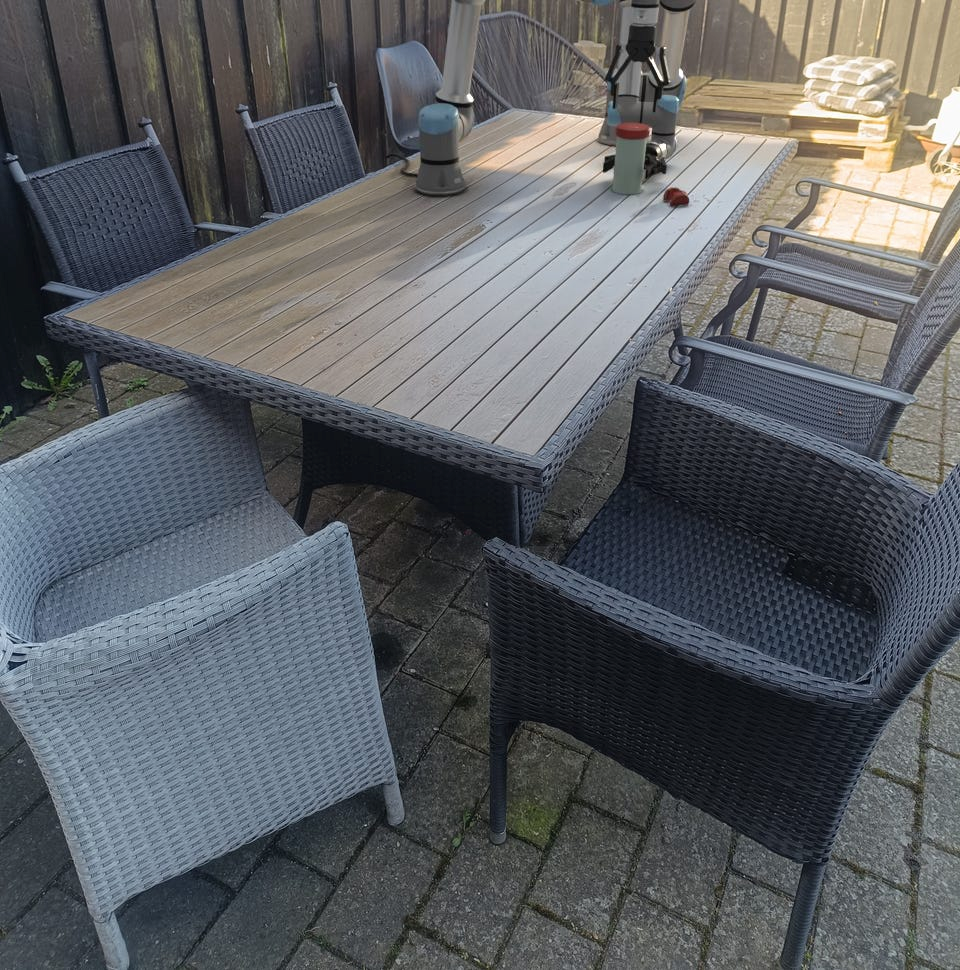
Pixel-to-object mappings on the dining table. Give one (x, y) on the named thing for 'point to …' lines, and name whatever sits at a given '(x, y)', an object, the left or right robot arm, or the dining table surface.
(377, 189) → the dining table surface
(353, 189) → the dining table surface
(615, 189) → the jar
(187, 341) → the dining table surface
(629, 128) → the lid
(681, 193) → the dental model
